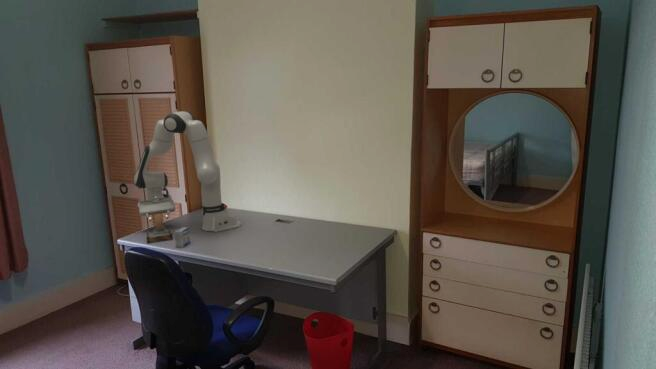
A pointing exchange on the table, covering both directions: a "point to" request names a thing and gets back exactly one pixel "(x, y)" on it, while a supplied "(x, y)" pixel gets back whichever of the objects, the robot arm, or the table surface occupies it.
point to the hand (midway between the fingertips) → (158, 219)
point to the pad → (160, 232)
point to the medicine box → (182, 237)
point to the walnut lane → (159, 237)
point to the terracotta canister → (159, 222)
